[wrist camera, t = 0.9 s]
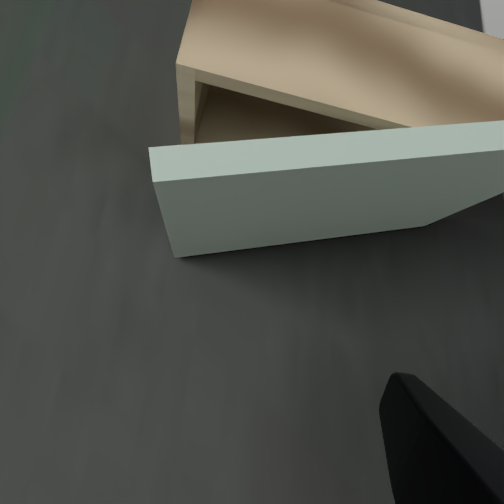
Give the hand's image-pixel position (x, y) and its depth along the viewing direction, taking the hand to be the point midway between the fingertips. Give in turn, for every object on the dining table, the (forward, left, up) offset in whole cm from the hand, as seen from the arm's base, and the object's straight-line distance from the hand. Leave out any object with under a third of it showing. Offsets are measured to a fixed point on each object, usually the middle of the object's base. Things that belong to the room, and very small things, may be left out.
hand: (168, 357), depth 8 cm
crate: (+15, 0, -14) cm, 21 cm away
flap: (+9, -3, -14) cm, 17 cm away
